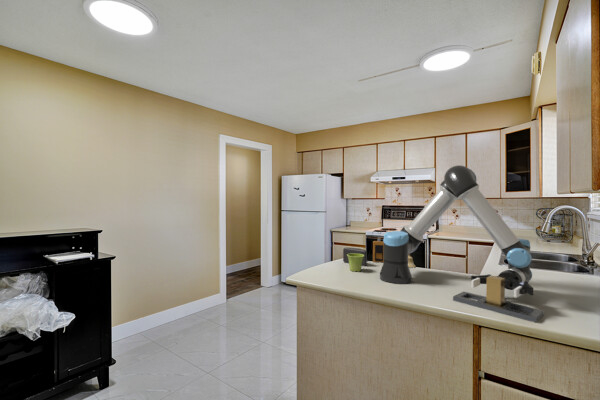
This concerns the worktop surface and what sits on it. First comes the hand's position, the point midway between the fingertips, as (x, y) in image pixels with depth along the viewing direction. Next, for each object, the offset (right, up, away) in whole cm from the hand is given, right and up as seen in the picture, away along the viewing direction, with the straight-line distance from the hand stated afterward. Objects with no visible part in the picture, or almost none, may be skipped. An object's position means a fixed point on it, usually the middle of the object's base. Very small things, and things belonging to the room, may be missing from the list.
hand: (492, 288), depth 106 cm
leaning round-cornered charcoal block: (-37, -7, +71) cm, 81 cm away
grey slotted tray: (+2, -8, +2) cm, 8 cm away
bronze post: (+2, -8, +2) cm, 8 cm away
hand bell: (-6, -8, +68) cm, 68 cm away
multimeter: (-20, -7, +82) cm, 85 cm away
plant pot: (-40, -7, +56) cm, 69 cm away
